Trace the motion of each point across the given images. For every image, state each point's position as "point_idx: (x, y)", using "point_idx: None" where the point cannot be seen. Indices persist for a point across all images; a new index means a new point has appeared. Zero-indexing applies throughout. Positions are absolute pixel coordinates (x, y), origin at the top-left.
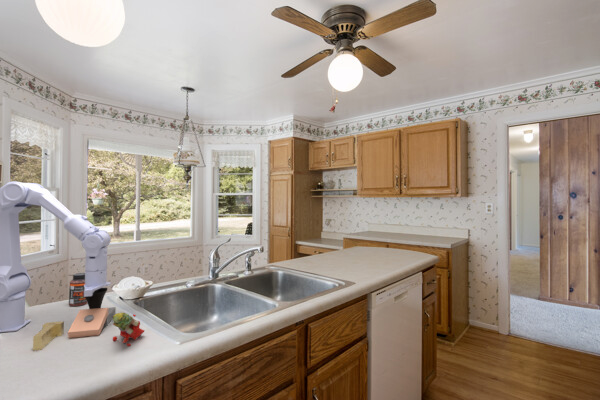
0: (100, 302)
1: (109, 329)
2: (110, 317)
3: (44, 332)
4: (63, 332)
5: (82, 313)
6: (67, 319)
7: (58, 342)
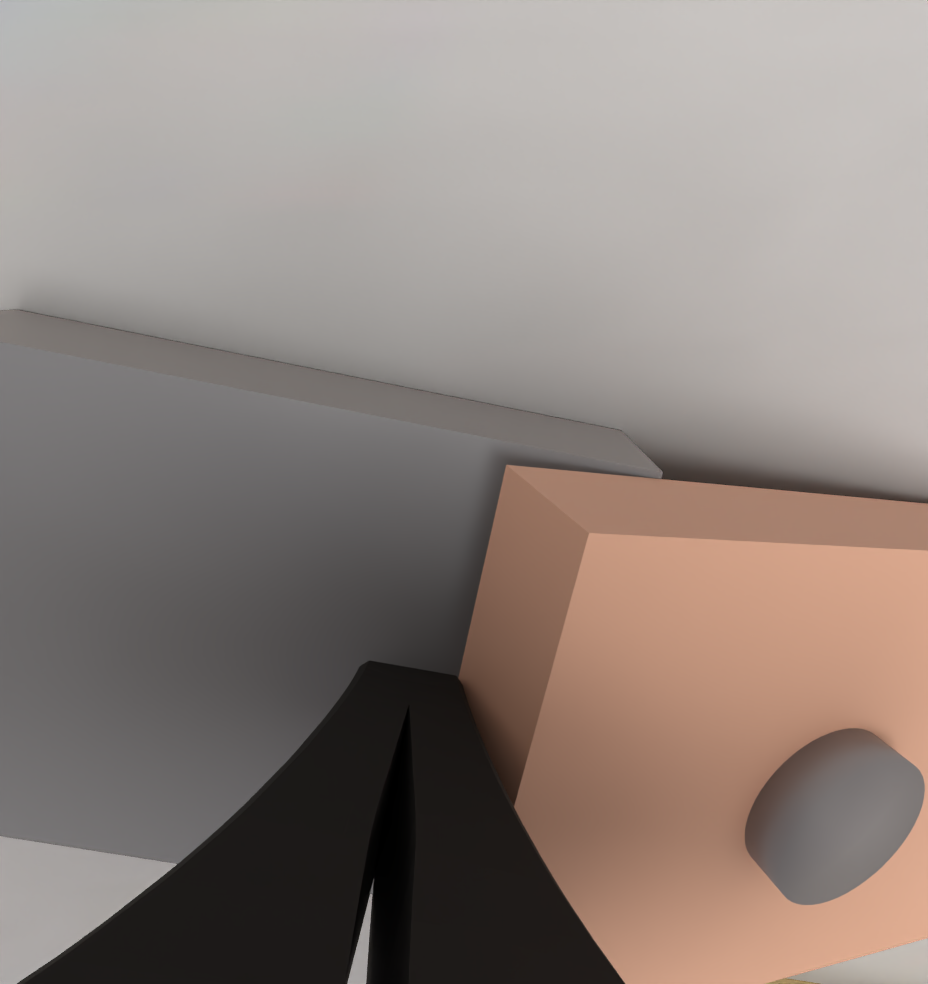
0: (515, 861)
1: (830, 379)
2: (383, 396)
3: None
4: None
5: None
6: (64, 933)
7: None
